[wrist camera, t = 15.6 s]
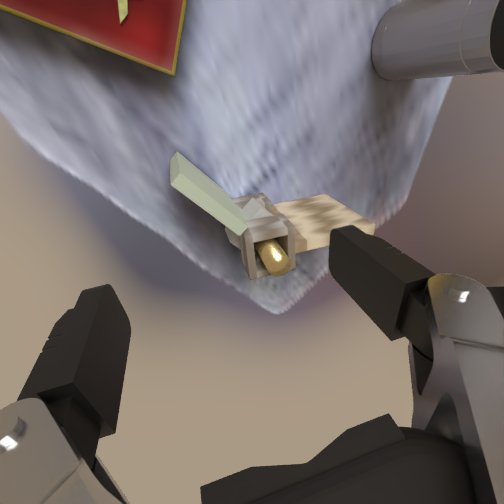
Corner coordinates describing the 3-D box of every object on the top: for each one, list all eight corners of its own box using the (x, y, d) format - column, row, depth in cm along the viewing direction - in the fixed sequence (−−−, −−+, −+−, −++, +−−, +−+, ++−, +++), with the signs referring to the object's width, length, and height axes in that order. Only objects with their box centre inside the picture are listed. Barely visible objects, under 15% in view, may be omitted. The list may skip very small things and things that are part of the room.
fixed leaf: (326, 180, 47) (378, 208, 35) (324, 214, 50) (371, 249, 39) (224, 200, 44) (244, 237, 32) (230, 234, 47) (250, 279, 36)
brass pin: (253, 204, 45) (290, 253, 31) (254, 220, 47) (291, 273, 33) (236, 207, 45) (267, 258, 31) (238, 223, 47) (268, 278, 32)
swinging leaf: (272, 212, 47) (303, 247, 36) (247, 239, 48) (269, 280, 37) (187, 137, 37) (195, 153, 26) (160, 173, 39) (156, 202, 28)
